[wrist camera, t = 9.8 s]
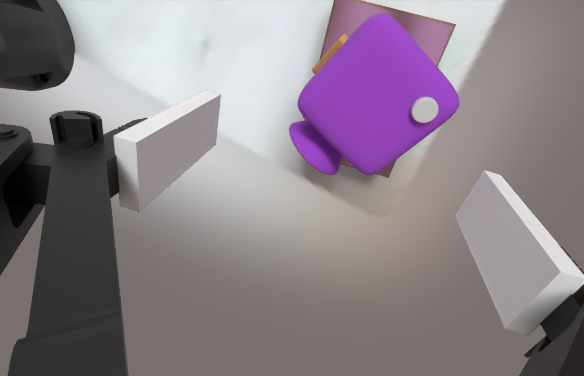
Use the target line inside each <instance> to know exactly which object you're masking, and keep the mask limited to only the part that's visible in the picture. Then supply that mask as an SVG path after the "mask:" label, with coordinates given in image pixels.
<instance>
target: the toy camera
mask: <svg viewBox="0 0 584 376" xmlns="http://www.w3.org/2000/svg"><path fill="white" fill-rule="evenodd" d="M312 71H313V72H314V73H315V75H314V76H313V78H312V79H311V80H310V81H309V82H308V83H307V85H306V86H305V87H304V89H303V90H302V92H301V94H300V96H299V99H298V108H299V110H300V112H301V113H302V115H303V118H304V119H305V120H306V121H301V122H296V123H293V124H291V125H290V127H289V133H290V136H291V139H292V141H293V143H294V145H295V147H296V148H297V150H298V151H299V153H300V154H301V155H302V156H303V157H304V159H305V160H306V161H307V162H308V163H309V164H311V165H312V166H313V167H314V168H316V169H317V170H319V171H321V172H323V173H325V174H328V175H333V174H335V173H336V172H337V171H338V168H339V165H340V161H341V156H343V157H344V158H345V159H346V160H347V161H349V162H350V163H351V164H352V165H353V166H354V167H355V168H356V169H358V170H359V171H360V172H362V173H364V174H367V175H372V174H375V173H377V172H379V171H380V170H382V169H384V168H385V167H386V166H388V165H389V164H391V163H392V162H393V161H395V160H396V159H397V158H399V157H400V156H401V155H403V154H404V153H405V152H407V151H408V150H409V149H411V148H412V147H413V146H415V145H416V144H417V143H418V142H420V141H421V140H422V139H424V138H425V137H426V136H428V135H429V134H430V133H432V132H433V131H434V130H436V129H437V128H438V127H439V126H441V125H442V124H443V123H445V122H446V121H447V120H448V119H449V118H450V117H451V116H452V115H453V114H454V113H455V112H456V110H457V109H458V106H459V98H458V95H457V93H456V91H455V89H454V87H453V86H452V84H451V83H450V82H449V81H448V79H447V78H446V77H445V76H444V74H443V73H442V72H441V71H440V70H439V69H438V67H437V66H436V65H435V64H434V63H433V62H432V60H431V59H430V58H429V57H428V56H427V55H426V53H425V52H424V51H423V50H422V49H421V48H420V46H419V45H418V44H417V43H416V42H415V41H414V39H413V38H412V37H411V36H410V35H409V34H408V32H407V31H406V30H405V29H404V28H403V27H402V26H401V25H400V24H399V23H398V22H397V21H396V20H395V19H394V18H392V17H391V16H389V15H387V14H383V13H379V14H375V15H373V16H371V17H369V18H368V19H367V20H365V21H364V22H363V23H362V24H361V25H360V26H359V27H358V28H357V29H356V30H355V32H354V33H353V34H352V35H351V36H350V37H348V36H347V35H346V34H344V35H343V36H342V37H340V39H339V40H338V41H337V42H336V43H335V44H334V45H333V46H332V48H331V49H330V50H329V51H328V52H327V53H326V54H325V55H324V56H323V58H322V59H321V60H320V61H319V62H318V63H317V64H316V65H315V67H314V68H313V69H312Z"/></svg>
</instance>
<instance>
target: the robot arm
mask: <svg viewBox="0 0 584 376" xmlns="http://www.w3.org/2000/svg"><path fill="white" fill-rule="evenodd" d="M73 61H74V45H73V39H72V34H71V31H70V28H69V25H68V22H67V20H66V17H65V15H64V13H63V11H62V9H61V7H60V6H59V4H58V2H57V1H56V0H0V88H9V89H17V90H27V91H37V90H43V89H47V88H51V87H55V86H58V85H60V84H61V83H63V82H64V81H65V80H66V79H67V77H68V76H69V74H70V72H71V70H72V67H73ZM220 97H221V94H218V93H215V92H211V91H208V90H205V91H203V92H201V93H199V94H197V95H195V96H193V97H191V98H189V99H187V100H185V101H183V102H181V103H179V104H177V105H175V106H173V107H171V108H169V109H167V110H165V111H163V112H161V113H159V114H157V115H155V116H153V117H151V118H143V119H138V120H134V121H132V122H129V123H127V124H125V126H124V125H123V126H121V127H119V128H118V129H114V130H112V131H110V132H108V133H106V134H104V135H103V129H102V119H101V118H100V116H98V115H96V114H94V113H91V112H86V111H64V112H58V113H56V114H54V115H52V116H51V117H50V118H49V119H50V124H51V129H52V134H53V139H54V145H48V144H41V143H33V141H32V136H31V133H30V131H29V130H28V129H26V128H24V127H21V126H14V125H6V124H0V275H1V273H2V272H3V271H4V269H5V267H6V266H7V264H8V263H9V261H10V259H11V258H12V256H13V255H14V253H15V252H16V250H17V249H18V247H19V245H20V244H21V242H22V241H23V239H24V238H25V236H26V234H27V233H28V231H29V230H30V228H31V226H32V225H33V223H34V222H35V220H36V218H37V217H38V215H39V214H40V212H41V211H42V209H43V207H44V206H45V205H46V206H45V213H44V220H43V226H42V233H41V240H40V248H39V254H38V261H37V268H36V275H35V282H34V290H33V296H32V303H31V310H30V317H29V324H28V330H27V335H26V337H25V338H23V339H19V340H17V342H16V344H15V345H14V348H13V352H12V356H11V360H10V365H9V371H8V376H128V367H127V357H126V347H125V338H124V327H123V317H122V307H121V298H120V288H119V278H118V268H117V258H116V249H115V239H114V229H113V219H112V209H111V200H110V198H111V197H113V196H114V195H116V194H117V193H118V192H119V201H120V206H122V207H125V208H128V209H131V210H135V211H138V212H140V211H141V210H143V209H144V208H145V207H146V206H147V205H148V204H149V203H150V202H152V201H153V200H154V199H155V198H156V197H157V196H158V195H159V194H161V193H162V192H163V191H164V190H165V189H166V188H167V187H168V186H170V185H171V184H172V183H173V182H174V181H175V180H176V179H177V178H179V177H180V176H181V175H182V174H183V173H184V172H185V171H186V170H187V169H189V168H190V167H191V166H192V165H193V164H194V163H195V162H197V161H198V160H199V159H200V158H201V157H202V156H203V155H204V154H206V153H207V152H208V151H209V150H210V149H211V148H212V147H213V146H214V145H216V137H217V127H218V117H219V107H220ZM455 217H456V219H457V221H458V223H459V226H460V228H461V230H462V233H463V235H464V237H465V239H466V242H467V244H468V246H469V248H470V251H471V253H472V255H473V257H474V260H475V262H476V264H477V266H478V269H479V271H480V273H481V275H482V278H483V280H484V282H485V284H486V287H487V289H488V291H489V293H490V296H491V298H492V300H493V302H494V305H495V307H496V309H497V311H498V314H499V316H500V318H501V320H502V323H503V325H504V327H505V329H508V330H511V331H515V332H518V333H521V334H524V335H527V336H528V335H530V334H531V333H532V332H533V331H534V330H535V329H536V328H537V327H538V326H539V325H540V324H541V326H542V327H543V329H544V331H545V333H546V336H545V337H544V338H543V339H542V340H540V341H539V342H538V343H537V344H536V345H535V346H534V347H533V348H531V349H530V350H529V351H528V352H527V353H526V354H525V356H526V357H527V358H528V357H530V358H529V360H528V362H527V363H526V365H525V367H524V368H523V370H522V372H521V374H520V375H519V376H584V272H583V271H582V270H581V269H580V268H578V265H577V264H576V263H575V261H574V260H572V259H571V257H570V255H569V254H568V253H567V252H566V251H565V250H564V248H563V247H561V246H560V245H559V244H558V243H557V242H556V241H555V240H554V239H553V238H552V236H551V235H550V234H549V233H548V231H547V230H546V229H545V228H544V227H543V226H542V224H541V223H540V222H539V221H538V220H537V218H536V217H535V216H534V215H533V214H532V212H531V211H530V210H529V209H528V208H527V206H526V205H525V204H524V203H523V202H522V200H521V199H520V198H519V197H518V196H517V195H516V193H515V192H514V191H513V190H512V188H511V187H510V186H509V185H508V184H507V182H506V181H505V180H504V179H503V178H502V176H501V175H498V174H495V173H491V172H488V171H484V172H483V173H482V175H481V176H480V178H479V179H478V181H477V183H476V184H475V186H474V187H473V189H472V190H471V192H470V194H469V195H468V197H467V199H466V200H465V201H464V203H463V205H462V206H461V208H460V209H459V211H458V213H457V214H456V216H455Z"/></svg>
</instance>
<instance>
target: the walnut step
mask: <svg viewBox="0 0 584 376" xmlns="http://www.w3.org/2000/svg"><path fill="white" fill-rule="evenodd" d="M379 13H383V14H387V15H389V16H391V17H392V18H394V19H395V20H396V21H397V22H398V23H399V24H400V25H401V26H402V27H403V28H404V29H405V30H406V31H407V32H408V34H409V35H410V36H411V37H412V38H413V39H414V41H415V42H416V43H417V44H418V45H419V46H420V48H421V49H422V50H423V51H424V52H425V53H426V55H427V56H428V57H429V58H430V59H431V60H432V62H433V63H434V64H435V65H436V66H438V64H439V62H440V60H441V57H442V55H443V53H444V51H445V48H446V46H447V44H448V42H449V39H450V37H451V35H452V32H453V30H454V28H455V26H456V24H453V23H449V22H445V21H441V20H437V19H433V18H429V17H425V16H421V15H417V14H413V13H409V12H405V11H401V10H397V9H393V8H389V7H385V6H381V5H377V4H373V3H369V2H365V1H361V0H334V3H333V8H332V12H331V16H330V20H329V24H328V28H327V32H326V36H325V40H324V44H323V48H322V52H321V56H320V60H321V59H322V58H323V56H324V55H325V54H326V53H327V52H328V51H329V50H330V49H331V48H332V46H333V45H334V44H335V43H336V42H337V41H338V40H339V39H340V37H342V36H343V35H344V34H346V35H347V36H348V37H350V36H351V35H352V34H353V33H354V32H355V30H356V29H357V28H358V27H359V26H360V25H361V24H362V23H363V22H364V21H365V20H367V19H368V18H369V17H371V16H373V15H375V14H379ZM320 60H319V61H320ZM305 121H306V120H305ZM297 151H298V150H297ZM396 160H397V159H396ZM396 160H395V161H393V162H392V163H391V164H389V165H388V166H386V167H385V168H384V169H382V170H380V171H379V172H377V173H375V174H378V175H381V176H385V177H388V178H389V175H390V173H391V171H392V169H393V166H394V164H395V162H396ZM340 164H343V165H347V166H350V167H354V166H353V165H352V164H351V163H350V162H349V161H347V160H346V159H345V158H344V157H343V156H341V161H340ZM354 168H355V167H354Z"/></svg>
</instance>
